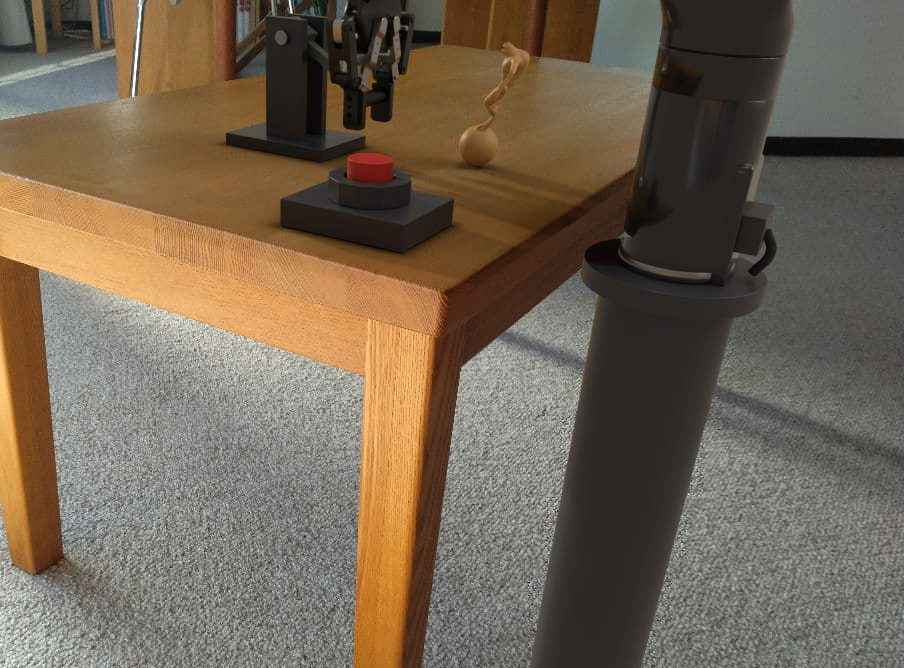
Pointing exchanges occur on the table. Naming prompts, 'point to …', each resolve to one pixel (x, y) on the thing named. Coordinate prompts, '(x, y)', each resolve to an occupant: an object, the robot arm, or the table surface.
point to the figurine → (492, 110)
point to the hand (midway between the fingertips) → (367, 124)
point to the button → (370, 168)
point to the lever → (321, 57)
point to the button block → (368, 211)
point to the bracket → (295, 96)
